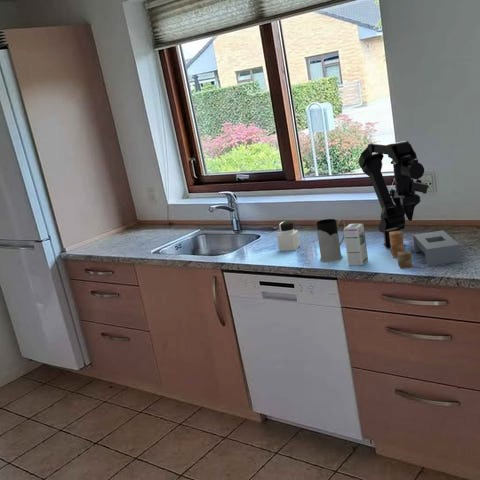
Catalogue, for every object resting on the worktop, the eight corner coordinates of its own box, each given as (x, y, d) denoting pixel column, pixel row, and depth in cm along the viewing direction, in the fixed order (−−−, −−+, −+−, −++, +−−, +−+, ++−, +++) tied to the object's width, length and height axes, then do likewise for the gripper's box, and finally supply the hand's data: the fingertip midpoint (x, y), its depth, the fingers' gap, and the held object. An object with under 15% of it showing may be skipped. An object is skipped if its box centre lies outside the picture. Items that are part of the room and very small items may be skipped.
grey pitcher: (315, 260, 222) (310, 223, 218) (340, 250, 229) (336, 214, 226) (331, 263, 215) (326, 225, 211) (356, 252, 222) (352, 215, 219)
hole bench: (428, 265, 194) (426, 249, 192) (414, 249, 213) (413, 234, 212) (460, 261, 193) (459, 244, 191) (444, 245, 212) (443, 230, 211)
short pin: (400, 268, 196) (399, 255, 195) (398, 265, 200) (397, 252, 198) (412, 267, 195) (411, 253, 194) (410, 263, 199) (408, 250, 198)
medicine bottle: (300, 245, 246) (296, 219, 243) (294, 250, 240) (290, 223, 237) (285, 246, 249) (281, 220, 246) (279, 251, 243) (275, 224, 240)
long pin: (393, 258, 208) (391, 234, 206) (391, 254, 212) (389, 231, 210) (404, 256, 208) (402, 233, 206) (402, 253, 212) (399, 230, 210)
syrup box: (363, 265, 206) (358, 227, 202) (347, 265, 209) (342, 227, 206) (368, 260, 210) (363, 223, 207) (353, 260, 214) (348, 223, 210)
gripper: (433, 176, 195) (437, 219, 199) (416, 169, 213) (420, 209, 217) (401, 181, 196) (405, 225, 199) (387, 174, 214) (391, 214, 218)
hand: (406, 218), depth 208 cm, fingers open, 9 cm apart
